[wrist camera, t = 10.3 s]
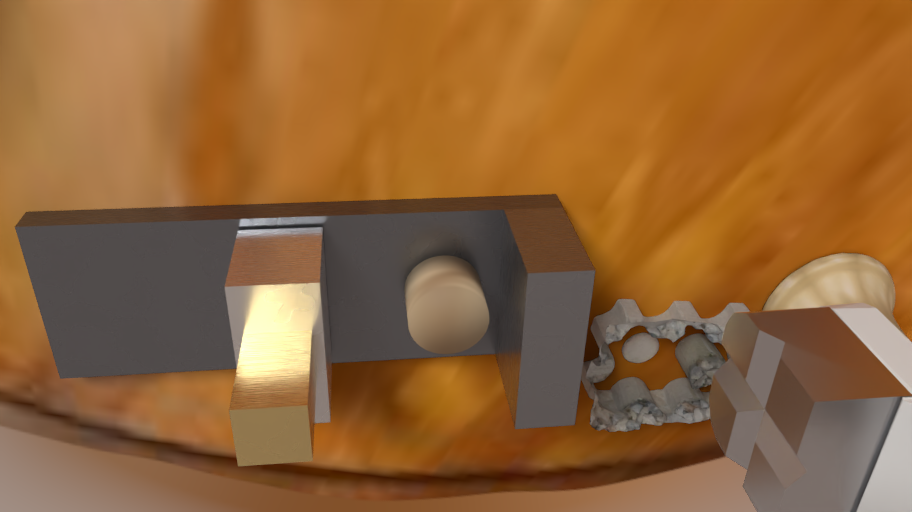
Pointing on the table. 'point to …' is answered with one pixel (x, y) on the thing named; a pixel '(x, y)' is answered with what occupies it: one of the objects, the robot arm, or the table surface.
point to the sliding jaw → (279, 344)
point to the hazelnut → (445, 305)
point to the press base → (348, 286)
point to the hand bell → (837, 285)
